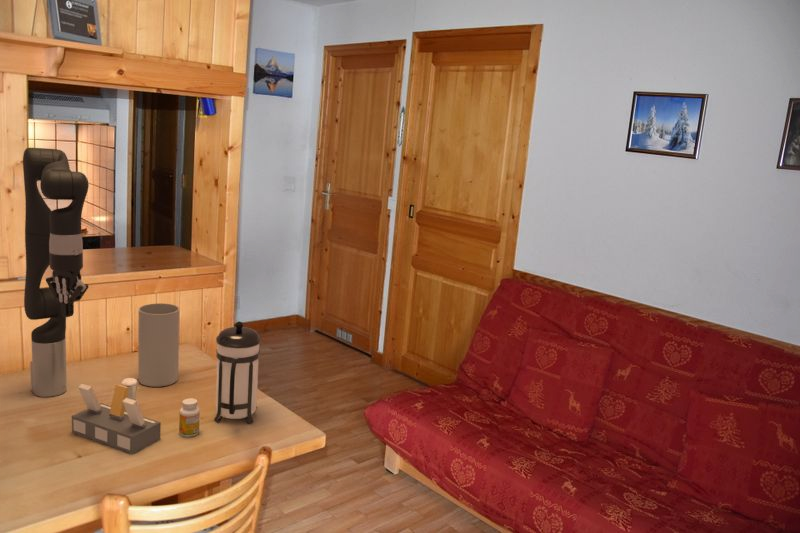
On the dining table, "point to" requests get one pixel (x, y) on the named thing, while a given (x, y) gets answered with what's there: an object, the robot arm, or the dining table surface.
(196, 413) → the supplement bottle
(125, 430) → the strip block
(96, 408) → the rocker left
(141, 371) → the cylinder vase
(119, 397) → the rocker amber
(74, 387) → the dining table surface
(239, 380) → the coffee press
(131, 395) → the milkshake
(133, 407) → the rocker right
